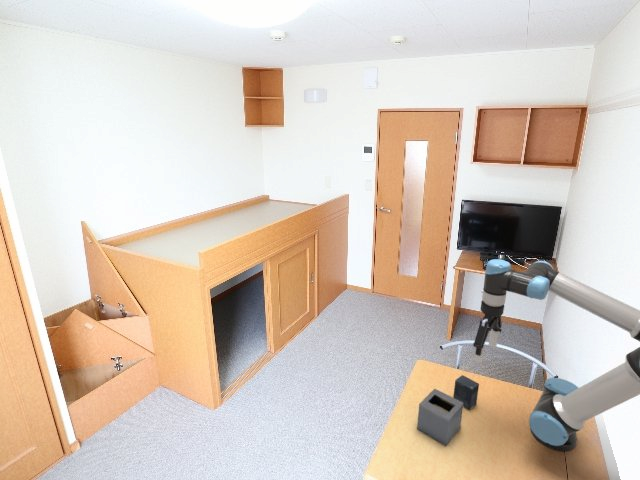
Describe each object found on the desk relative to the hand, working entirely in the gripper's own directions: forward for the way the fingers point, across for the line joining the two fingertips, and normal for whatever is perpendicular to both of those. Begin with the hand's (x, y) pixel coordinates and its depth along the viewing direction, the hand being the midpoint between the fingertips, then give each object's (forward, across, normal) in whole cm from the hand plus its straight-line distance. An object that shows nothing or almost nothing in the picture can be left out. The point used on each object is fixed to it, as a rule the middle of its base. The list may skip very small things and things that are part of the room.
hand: (485, 353), depth 144 cm
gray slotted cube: (+32, +13, -9) cm, 35 cm away
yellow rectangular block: (+31, +13, -9) cm, 35 cm away
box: (+32, -8, -8) cm, 34 cm away
